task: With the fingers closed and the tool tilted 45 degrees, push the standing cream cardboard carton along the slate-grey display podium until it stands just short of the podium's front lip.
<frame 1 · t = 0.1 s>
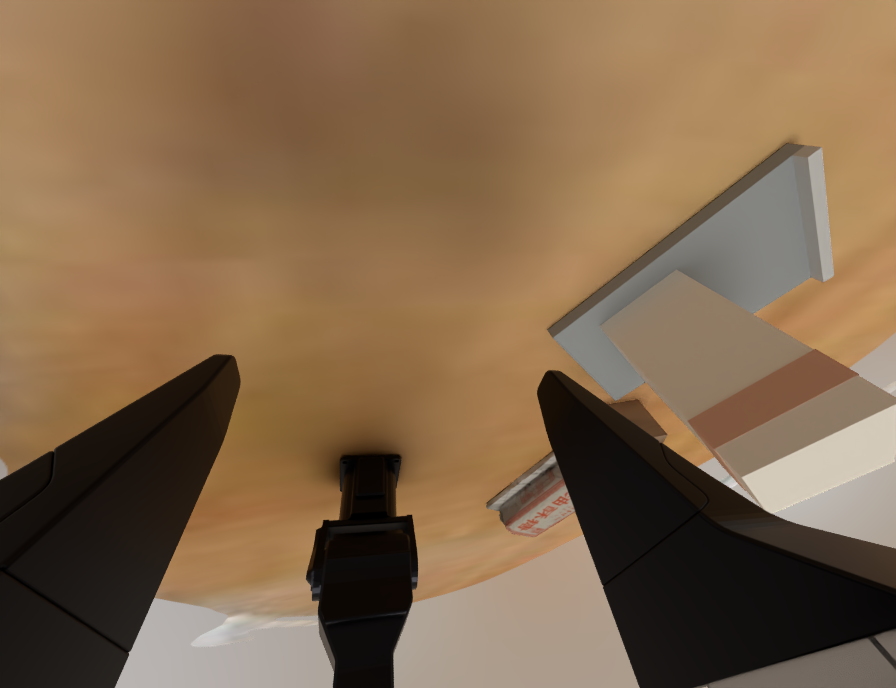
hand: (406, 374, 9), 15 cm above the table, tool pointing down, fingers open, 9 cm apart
walnut block: (611, 416, 38), on the table
packaged product: (550, 473, 45), on the table
podium: (677, 297, 29), on the table
carton: (654, 326, 29), point 1 cm above the table, touching podium
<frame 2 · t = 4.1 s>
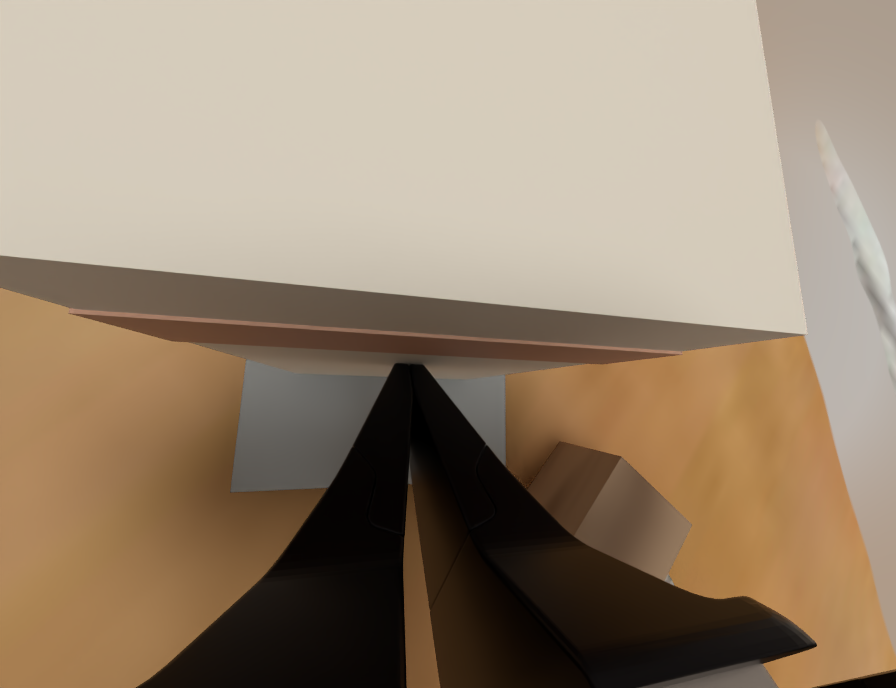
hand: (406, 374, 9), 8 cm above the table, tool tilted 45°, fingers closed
walnut block: (565, 501, 19), on the table
podium: (390, 294, 18), on the table
carton: (390, 310, 17), point 1 cm above the table, touching gripper
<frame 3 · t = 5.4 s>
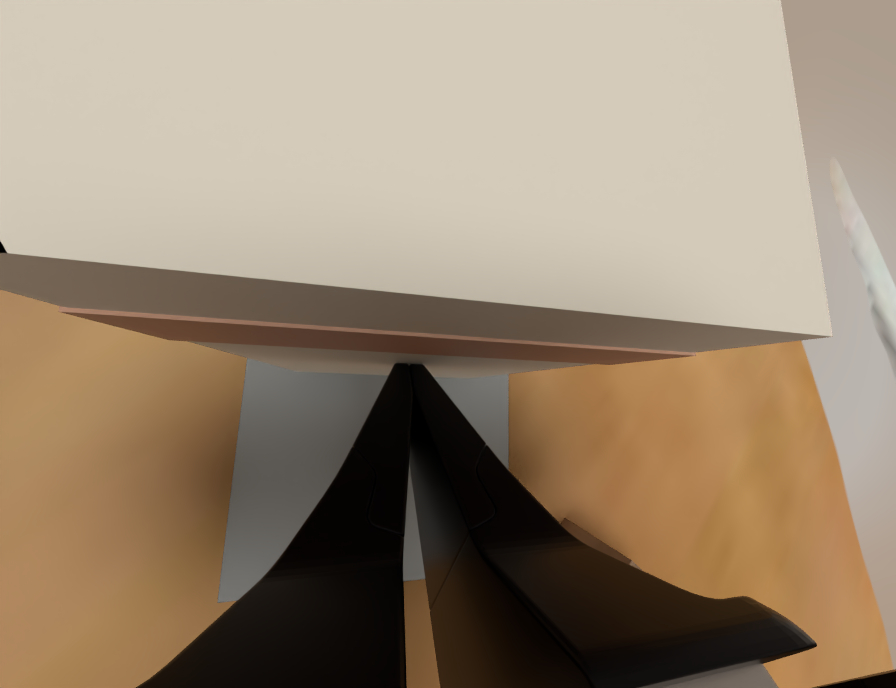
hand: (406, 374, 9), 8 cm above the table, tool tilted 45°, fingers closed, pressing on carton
walnut block: (570, 582, 18), on the table
podium: (388, 368, 17), on the table
carton: (392, 308, 17), point 1 cm above the table, touching gripper, podium
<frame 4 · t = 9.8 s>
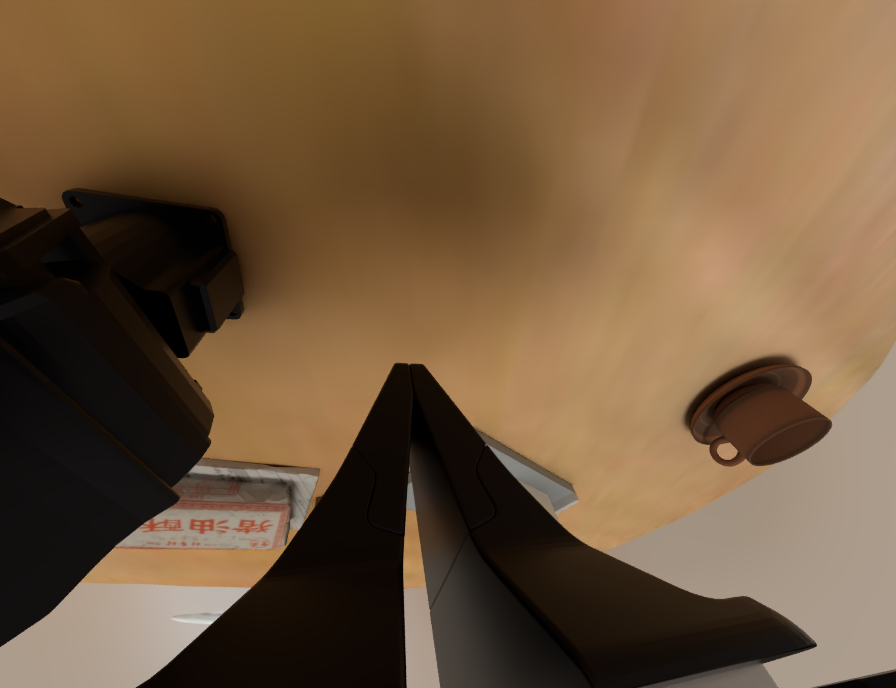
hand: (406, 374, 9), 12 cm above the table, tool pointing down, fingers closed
packaged product: (214, 482, 31), on the table
podium: (485, 487, 38), on the table
cup and saucer: (732, 395, 36), on the table
carton: (504, 503, 39), point 1 cm above the table, touching podium
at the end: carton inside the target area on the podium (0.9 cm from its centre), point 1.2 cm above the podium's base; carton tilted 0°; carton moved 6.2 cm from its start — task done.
